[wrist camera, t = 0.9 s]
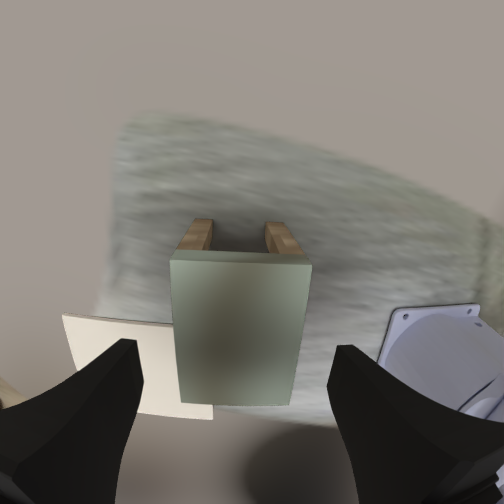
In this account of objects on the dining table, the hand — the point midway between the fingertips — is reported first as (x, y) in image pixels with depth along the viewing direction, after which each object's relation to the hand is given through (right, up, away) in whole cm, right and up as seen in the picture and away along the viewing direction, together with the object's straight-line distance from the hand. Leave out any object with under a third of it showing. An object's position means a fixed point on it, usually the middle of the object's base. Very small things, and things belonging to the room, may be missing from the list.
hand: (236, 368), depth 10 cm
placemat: (-8, -5, +10) cm, 13 cm away
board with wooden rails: (0, +3, +8) cm, 8 cm away
